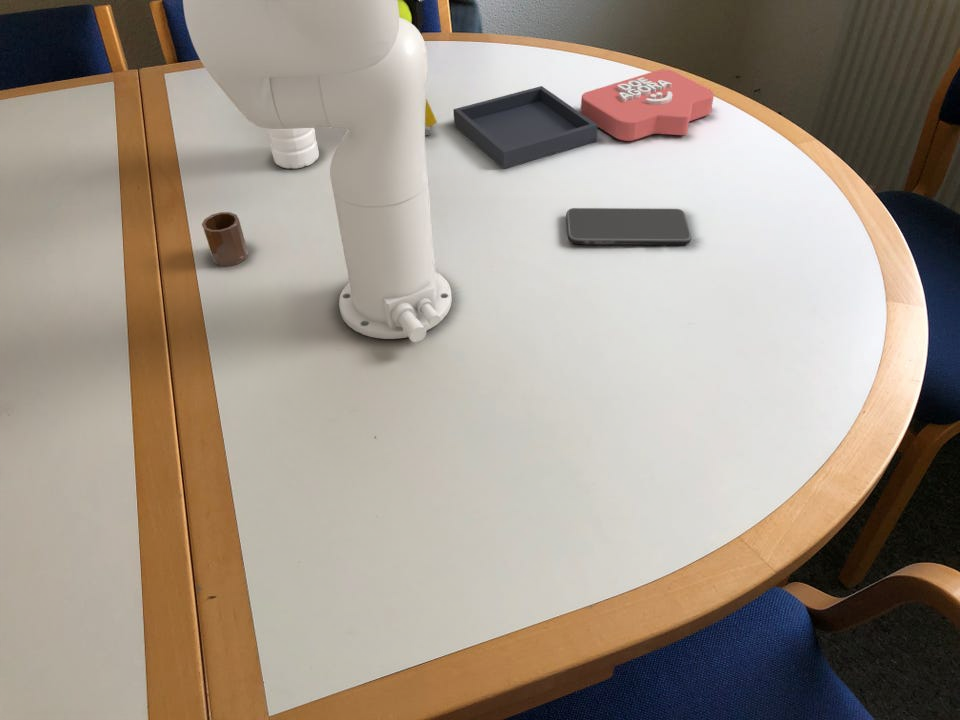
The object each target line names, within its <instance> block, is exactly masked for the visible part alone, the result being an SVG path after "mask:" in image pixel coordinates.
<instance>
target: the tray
mask: <svg viewBox="0 0 960 720" xmlns="http://www.w3.org/2000/svg"><path fill="white" fill-rule="evenodd" d="M453 126H455V128H457V129H458V130H459V131H460V132H461V133H462V134H463V135H465V137H467V138H468V139H469V140H470V141H472V142H473V143H474V144H475V145H476V146H477V147H478V148H479V149H481V151H483V152H484V153H485V154H486V155H487V156H488V157H490V158H491V159H492V160H493V161H494V162H495V163H496V164H497V165H499V166H500V167H501V168H502V169H503V170H504V169H505V170H506V169H508V168H511V167H515V166H519V165H521V164H525V163H528V162H531V161H535V160H538V159H542V158H545V157H549V156H552V155H556V154H558V153H559V154H560V153H563V152H565V151H566V152H567V151H569V150H572V149H577V148H578V147H579V148H580V147H582V146H585V145H590V144H592V143H595V142H597V140H598V138H597V137H598V128H599V127H598V125H597V124H596V123H594V122H593V121H591V120H590V119H588V118H587V117H585V116H584V115H583V114H581V111H578V109H575V108H574V107H572V106H571V105H570V104H569V103H567V102H565V100H562V99H561V98H559V96H557V95H555V94H554V93H553V92H551V91H549V90H548V89H547V88H545V86H542V85H541V86H537V87H533V88H529V89H525V90H521V91H518V92H514V93H510V94H506V95H502V96H498V97H495V98H491V99H486V100H483V101H479V102H476V103H471V104H469V105H464V106H460V107H457V108H454V109H453Z"/></svg>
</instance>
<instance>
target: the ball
mask: <svg viewBox="0 0 960 720" xmlns="http://www.w3.org/2000/svg"><path fill="white" fill-rule="evenodd" d="M397 1H398V8H399V17H400V18H403V19H405V20H407V21H408V22H410V23H412V15H411V11H410V9H409V7H408V5H407V4H406V3H405V2H404V1H403V0H397Z"/></svg>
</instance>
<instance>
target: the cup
mask: <svg viewBox="0 0 960 720" xmlns="http://www.w3.org/2000/svg"><path fill="white" fill-rule="evenodd" d="M201 227H202V230H203V233H204V236H205V239H206V243H207V246H208V250H209V252H210V255H211V257H212V261H213V262H214V264H216V265H218V266H221V267H231V266H236V265H238V264H241V263H242V262H243V261H245V260H246V259H247V257H248V255H249V252H248V246H247V243H246V238H245V237H244V236H245V235H244V233H243V229H242V225H241V221H240V218H239V217H238V214H235V213H234V212H229V211H220V212H218V213H217V212H216V213H213V214H210V215H209V216H207V217H205V218H204V219H203V221H202V223H201Z"/></svg>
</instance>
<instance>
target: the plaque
mask: <svg viewBox="0 0 960 720" xmlns="http://www.w3.org/2000/svg"><path fill="white" fill-rule="evenodd" d="M714 97H715V92H714V91H713V90H712V89H711V88H708V87H706V86H704V85H702V84H700V83H698V82H696V81H694V80H692V79H690V78H688V77H686V76H684V75H682V74H680V73H678V72H677V71H674V70H671V69H657V70H654V71H651V72H648V73H643V74H641V75H638V76H634V77H631V78H628V79H625V80H621V81H618V82H614V83H611V84H608V85H605V86H601V87H598V88H595V89H592V90H588V91H586V92H584V93H583V94H582V95H581V101H580V113H581V114H583V115H584V116H585V117H587V118H588V119H590V120H591V121H593V122H594V123H596V124H597V125H598V128H599V129H600V130H602V131H604V132H605V133H607V134H609V135H610V136H612V137H614V138H616V139H618V140H620V141H625V142H632V141H635V140H638V139H642V138H645V137H648V136H651V135H654V134H657V135H658V134H659V135H673V136H685V135H687V134H688V132H689V125H690V122H692V121H694V120H698V119H700V118H704V117H706V116H709V115H710V114H711V113H712V109H713V108H712V107H713V102H714Z"/></svg>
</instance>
